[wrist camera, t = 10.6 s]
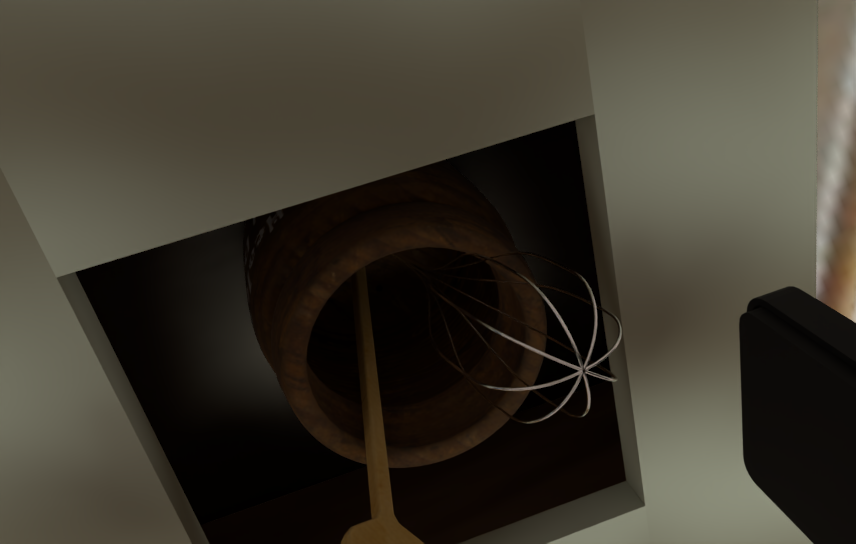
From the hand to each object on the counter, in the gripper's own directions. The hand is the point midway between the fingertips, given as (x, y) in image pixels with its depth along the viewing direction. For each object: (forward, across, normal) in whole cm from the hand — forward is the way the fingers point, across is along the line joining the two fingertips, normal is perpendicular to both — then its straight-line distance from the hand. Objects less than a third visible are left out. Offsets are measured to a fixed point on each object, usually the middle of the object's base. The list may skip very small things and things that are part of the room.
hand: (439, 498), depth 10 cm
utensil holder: (+11, 0, +1) cm, 11 cm away
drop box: (+11, 0, +1) cm, 11 cm away
